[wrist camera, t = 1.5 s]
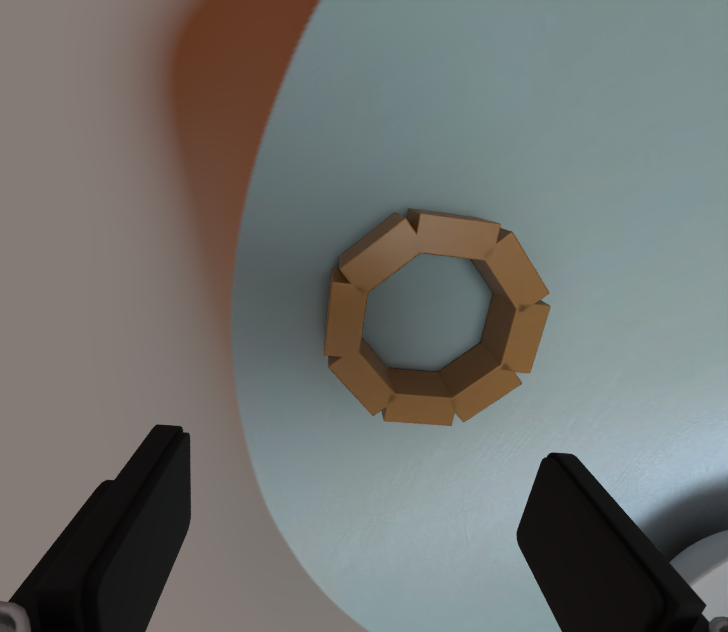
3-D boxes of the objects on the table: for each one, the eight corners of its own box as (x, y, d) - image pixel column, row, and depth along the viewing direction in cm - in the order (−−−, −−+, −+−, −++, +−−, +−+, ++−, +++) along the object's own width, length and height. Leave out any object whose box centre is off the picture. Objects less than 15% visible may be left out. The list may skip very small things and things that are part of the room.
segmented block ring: (286, 297, 21) (279, 315, 18) (452, 166, 20) (472, 164, 17) (402, 426, 25) (410, 457, 22) (551, 324, 23) (581, 344, 20)
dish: (711, 443, 27) (789, 498, 23) (827, 510, 31) (916, 570, 26) (555, 600, 32) (594, 673, 27) (671, 644, 35) (723, 715, 30)
